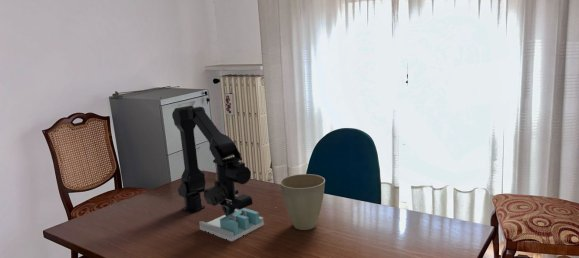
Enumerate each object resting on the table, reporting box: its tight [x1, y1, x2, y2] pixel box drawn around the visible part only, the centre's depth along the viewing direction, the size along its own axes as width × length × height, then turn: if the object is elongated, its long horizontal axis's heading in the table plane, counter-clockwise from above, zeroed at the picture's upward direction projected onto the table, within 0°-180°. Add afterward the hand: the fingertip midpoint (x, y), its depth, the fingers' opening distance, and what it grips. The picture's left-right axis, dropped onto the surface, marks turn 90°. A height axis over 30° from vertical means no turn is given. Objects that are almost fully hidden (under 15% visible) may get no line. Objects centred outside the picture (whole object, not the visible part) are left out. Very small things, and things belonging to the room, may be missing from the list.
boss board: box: [199, 208, 265, 242], centre depth 155 cm, size 16×15×6 cm
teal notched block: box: [220, 207, 260, 235], centre depth 152 cm, size 7×11×4 cm, turn 139°
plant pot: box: [279, 173, 326, 231], centre depth 152 cm, size 15×15×16 cm
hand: (229, 220), depth 155 cm, fingers closed
